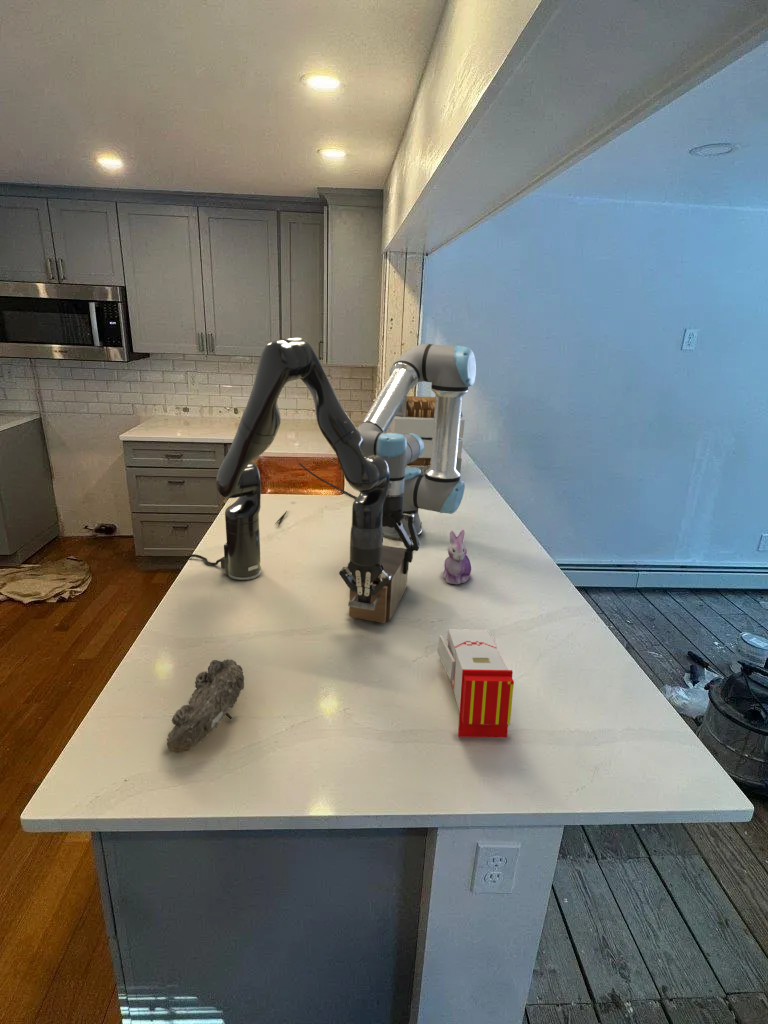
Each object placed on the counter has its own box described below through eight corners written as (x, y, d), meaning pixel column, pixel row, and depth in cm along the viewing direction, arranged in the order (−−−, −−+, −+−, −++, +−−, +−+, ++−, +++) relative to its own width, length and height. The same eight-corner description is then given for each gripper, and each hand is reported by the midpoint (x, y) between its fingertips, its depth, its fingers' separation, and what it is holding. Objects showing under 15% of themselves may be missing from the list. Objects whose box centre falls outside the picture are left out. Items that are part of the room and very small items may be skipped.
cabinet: (389, 621, 144) (391, 579, 140) (350, 614, 146) (351, 573, 142) (406, 586, 162) (409, 549, 158) (371, 581, 164) (373, 543, 160)
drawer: (378, 634, 136) (380, 598, 133) (341, 628, 138) (342, 592, 135) (401, 589, 158) (403, 558, 155) (369, 584, 160) (370, 553, 157)
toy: (488, 613, 130) (523, 677, 101) (484, 667, 133) (517, 744, 104) (435, 612, 130) (455, 676, 101) (432, 666, 133) (451, 743, 103)
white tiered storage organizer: (382, 463, 289) (386, 382, 275) (445, 464, 293) (451, 384, 279) (390, 482, 257) (394, 392, 243) (460, 483, 261) (468, 394, 247)
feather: (294, 505, 227) (296, 501, 226) (277, 528, 200) (280, 524, 199) (290, 503, 226) (292, 499, 226) (273, 526, 200) (276, 521, 199)
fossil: (192, 660, 117) (244, 628, 112) (224, 691, 120) (276, 661, 115) (142, 746, 98) (202, 712, 93) (182, 779, 101) (242, 748, 96)
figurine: (453, 588, 162) (457, 540, 157) (434, 573, 170) (437, 527, 165) (479, 582, 166) (485, 535, 161) (459, 568, 175) (464, 523, 170)
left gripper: (334, 543, 130) (333, 610, 136) (390, 551, 127) (386, 619, 133) (344, 532, 137) (343, 596, 142) (397, 539, 134) (394, 604, 139)
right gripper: (343, 491, 148) (342, 568, 156) (430, 502, 143) (424, 581, 151) (352, 484, 155) (350, 557, 163) (435, 494, 150) (429, 569, 158)
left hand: (364, 607), depth 137 cm, fingers closed
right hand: (386, 569), depth 157 cm, fingers closed on cabinet, 10 cm apart
